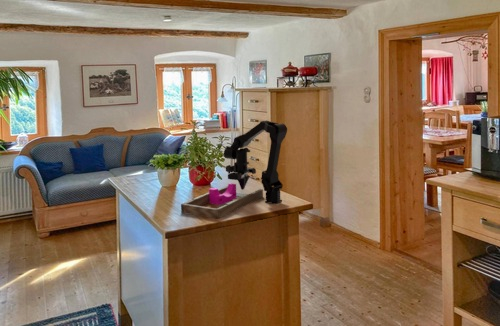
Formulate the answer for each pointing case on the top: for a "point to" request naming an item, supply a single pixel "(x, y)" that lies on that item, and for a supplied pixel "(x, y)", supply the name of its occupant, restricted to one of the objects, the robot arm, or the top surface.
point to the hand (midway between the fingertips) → (242, 189)
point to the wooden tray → (197, 209)
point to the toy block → (222, 195)
